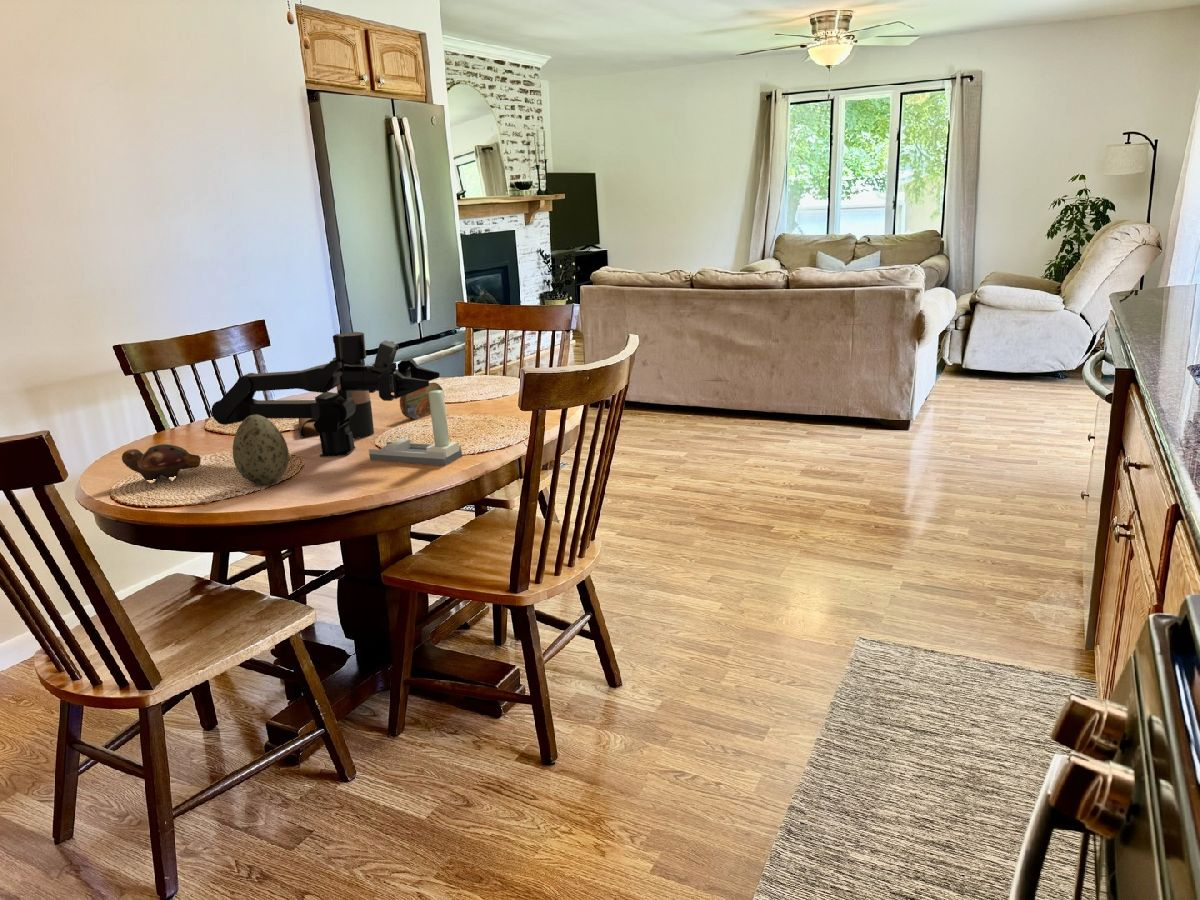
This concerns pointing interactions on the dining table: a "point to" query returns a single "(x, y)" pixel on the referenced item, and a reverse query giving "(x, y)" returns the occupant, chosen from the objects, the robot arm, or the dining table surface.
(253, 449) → the decorative egg
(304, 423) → the sunglasses case
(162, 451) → the decorative turtle
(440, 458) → the track
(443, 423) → the slider with handle
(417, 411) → the mottled brown rounded slab
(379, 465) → the dining table surface
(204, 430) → the dining table surface
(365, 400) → the travel mug
